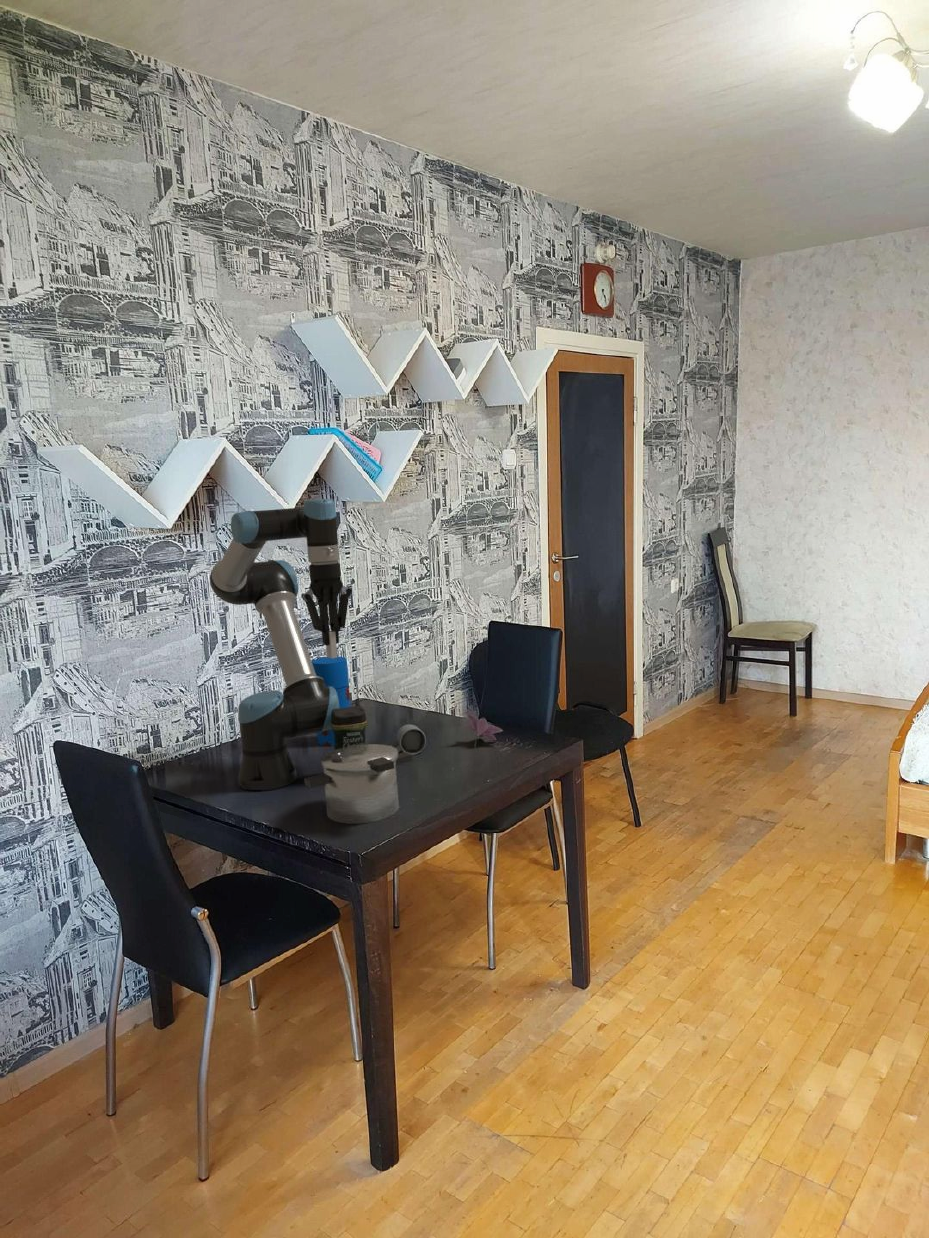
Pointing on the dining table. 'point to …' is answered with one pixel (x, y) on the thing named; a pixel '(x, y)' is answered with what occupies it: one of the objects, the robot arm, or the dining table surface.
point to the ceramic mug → (410, 740)
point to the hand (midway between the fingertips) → (332, 657)
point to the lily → (482, 727)
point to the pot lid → (360, 758)
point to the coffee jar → (348, 726)
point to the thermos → (336, 677)
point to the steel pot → (360, 793)
